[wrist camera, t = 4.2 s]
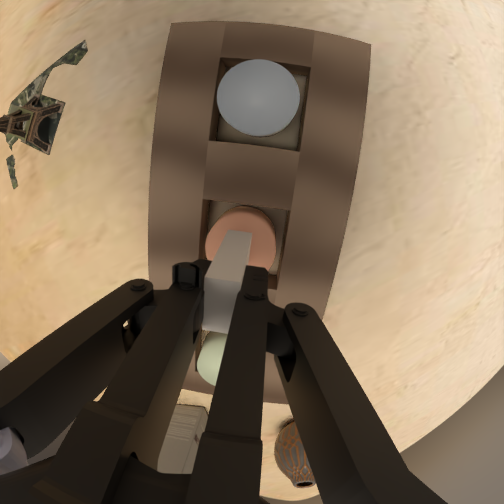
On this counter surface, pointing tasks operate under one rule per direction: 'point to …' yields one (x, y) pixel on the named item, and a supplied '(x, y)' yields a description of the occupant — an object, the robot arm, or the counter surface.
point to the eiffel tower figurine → (36, 113)
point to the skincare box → (182, 440)
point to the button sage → (211, 356)
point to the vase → (293, 457)
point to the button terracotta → (245, 222)
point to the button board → (256, 159)
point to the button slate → (258, 97)
